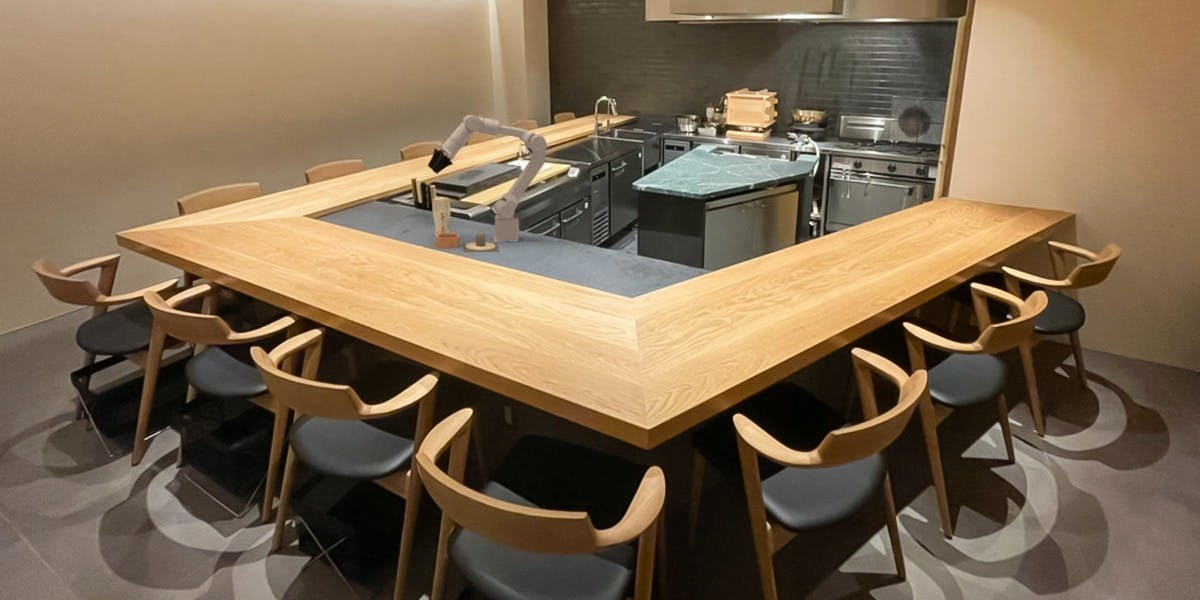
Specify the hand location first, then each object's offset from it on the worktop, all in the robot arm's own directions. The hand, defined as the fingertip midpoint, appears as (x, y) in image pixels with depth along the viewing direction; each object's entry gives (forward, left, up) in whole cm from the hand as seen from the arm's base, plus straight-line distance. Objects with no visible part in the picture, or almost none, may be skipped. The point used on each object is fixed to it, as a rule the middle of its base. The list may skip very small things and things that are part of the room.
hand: (432, 169), depth 248 cm
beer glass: (-3, -13, -28) cm, 31 cm away
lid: (-17, +9, -27) cm, 34 cm away
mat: (-17, +9, -28) cm, 34 cm away
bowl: (-5, +5, -28) cm, 29 cm away
